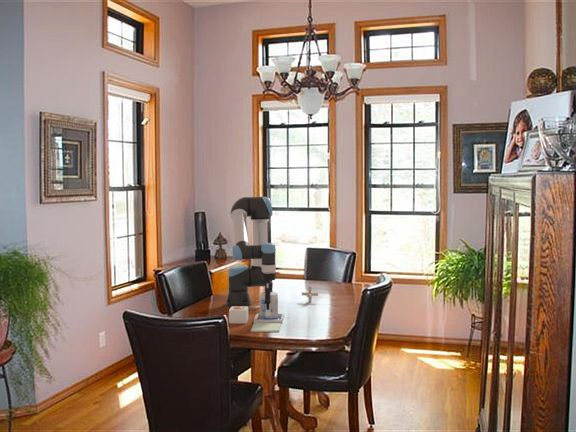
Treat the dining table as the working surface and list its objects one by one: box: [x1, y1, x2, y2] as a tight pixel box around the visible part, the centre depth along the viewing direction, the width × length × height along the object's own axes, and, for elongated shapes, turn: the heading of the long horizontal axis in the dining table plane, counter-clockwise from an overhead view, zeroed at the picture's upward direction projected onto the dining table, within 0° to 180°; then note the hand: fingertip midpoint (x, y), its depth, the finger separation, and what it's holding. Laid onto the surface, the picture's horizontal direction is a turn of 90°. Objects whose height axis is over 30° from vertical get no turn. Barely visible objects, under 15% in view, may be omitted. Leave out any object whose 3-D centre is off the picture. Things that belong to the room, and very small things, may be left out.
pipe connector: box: [301, 285, 319, 304], centre depth 349 cm, size 10×10×10 cm
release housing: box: [228, 306, 249, 324], centre depth 304 cm, size 9×9×7 cm
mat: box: [250, 322, 282, 333], centre depth 289 cm, size 14×14×1 cm
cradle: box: [253, 312, 285, 325], centre depth 305 cm, size 15×15×2 cm
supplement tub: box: [259, 291, 279, 320], centre depth 305 cm, size 10×10×15 cm
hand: (269, 312), depth 305 cm, fingers open, 11 cm apart
